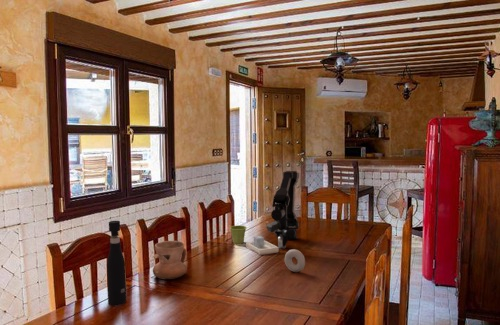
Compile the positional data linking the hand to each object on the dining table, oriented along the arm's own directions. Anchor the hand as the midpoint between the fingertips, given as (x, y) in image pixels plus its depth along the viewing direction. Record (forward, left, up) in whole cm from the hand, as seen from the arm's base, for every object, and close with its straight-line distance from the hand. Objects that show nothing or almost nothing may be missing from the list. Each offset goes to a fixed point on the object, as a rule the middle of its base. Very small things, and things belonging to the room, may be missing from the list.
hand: (281, 245), depth 217 cm
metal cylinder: (0, 0, -1) cm, 1 cm away
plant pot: (+16, -21, -2) cm, 26 cm away
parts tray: (+11, -2, -1) cm, 11 cm away
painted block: (+11, -5, 0) cm, 12 cm away
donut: (+14, +35, -2) cm, 38 cm away
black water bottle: (+89, +32, -2) cm, 95 cm away
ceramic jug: (+64, +14, -2) cm, 66 cm away
